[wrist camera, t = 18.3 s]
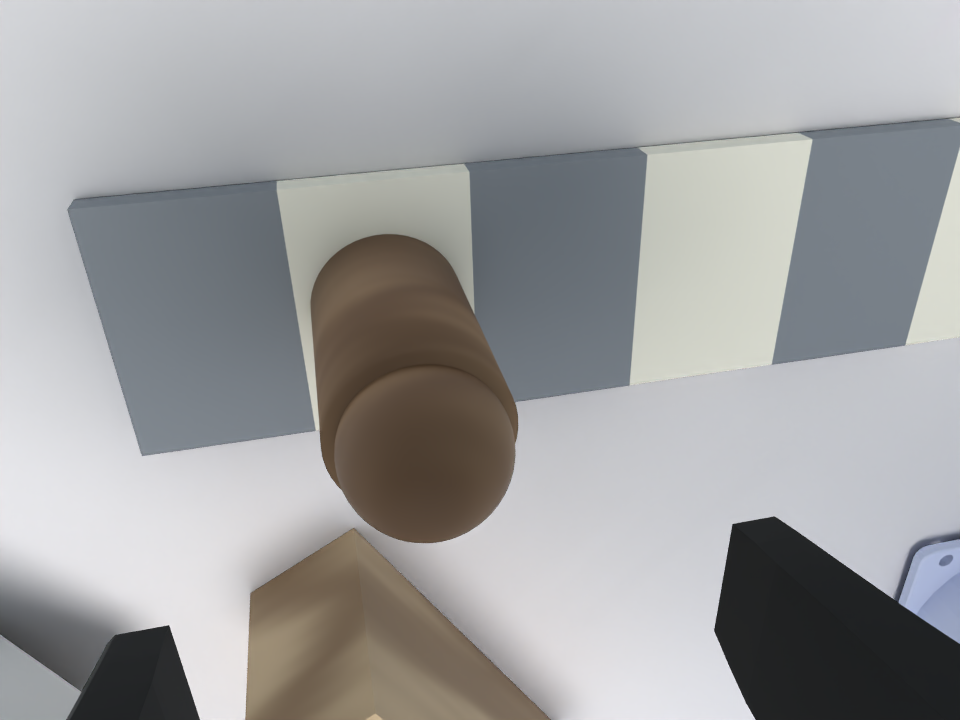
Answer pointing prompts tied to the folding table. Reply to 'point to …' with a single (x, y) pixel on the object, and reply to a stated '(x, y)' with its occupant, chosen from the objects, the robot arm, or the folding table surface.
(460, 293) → the pawn
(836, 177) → the track
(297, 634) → the tan rectangular block
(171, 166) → the folding table surface
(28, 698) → the die
